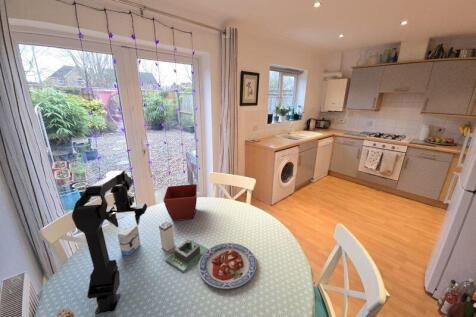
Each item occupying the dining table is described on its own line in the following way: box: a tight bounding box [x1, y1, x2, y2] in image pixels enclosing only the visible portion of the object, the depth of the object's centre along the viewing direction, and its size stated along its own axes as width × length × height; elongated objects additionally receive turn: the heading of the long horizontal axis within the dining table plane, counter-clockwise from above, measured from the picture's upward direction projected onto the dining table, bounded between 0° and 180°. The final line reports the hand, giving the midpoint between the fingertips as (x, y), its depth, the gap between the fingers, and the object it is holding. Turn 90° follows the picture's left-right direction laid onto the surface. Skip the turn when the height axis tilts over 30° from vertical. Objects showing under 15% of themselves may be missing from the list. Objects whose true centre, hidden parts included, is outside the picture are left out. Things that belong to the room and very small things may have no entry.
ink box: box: [117, 223, 141, 256], centre depth 101 cm, size 8×5×12 cm, turn 168°
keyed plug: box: [158, 221, 176, 252], centre depth 103 cm, size 5×4×13 cm
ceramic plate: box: [198, 242, 257, 290], centre depth 92 cm, size 26×26×3 cm
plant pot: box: [162, 183, 198, 222], centre depth 130 cm, size 19×19×17 cm
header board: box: [165, 239, 209, 273], centre depth 98 cm, size 16×12×4 cm
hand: (128, 225), depth 98 cm, fingers open, 9 cm apart
